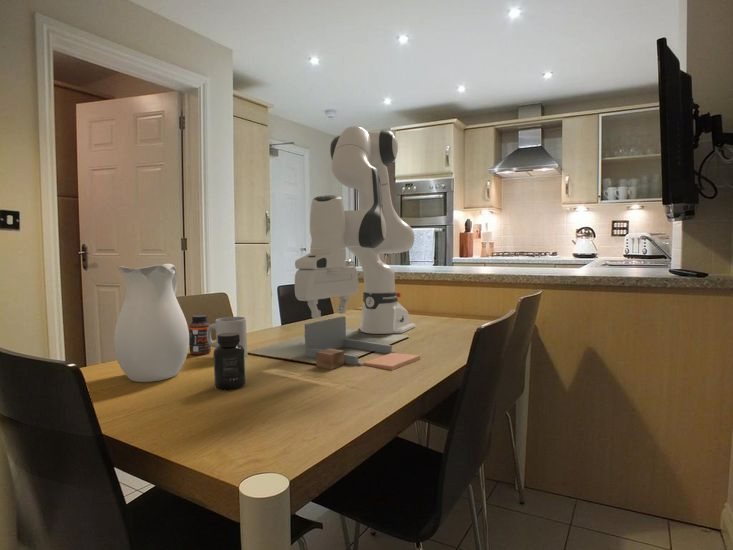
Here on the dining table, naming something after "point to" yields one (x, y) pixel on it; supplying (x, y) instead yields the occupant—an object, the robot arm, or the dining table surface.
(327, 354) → the block
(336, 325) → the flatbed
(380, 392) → the dining table surface
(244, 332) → the mug
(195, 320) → the supplement bottle
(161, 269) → the pitcher
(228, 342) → the supplement bottle
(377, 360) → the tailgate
